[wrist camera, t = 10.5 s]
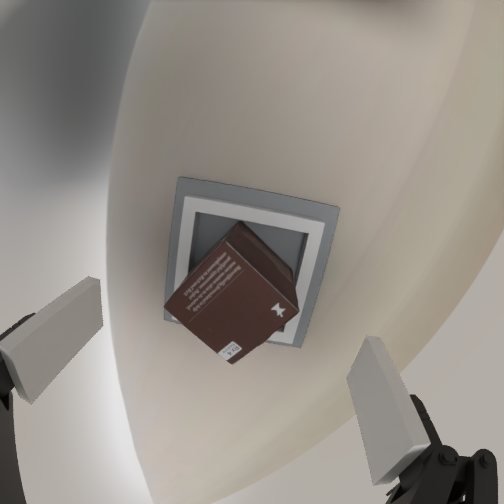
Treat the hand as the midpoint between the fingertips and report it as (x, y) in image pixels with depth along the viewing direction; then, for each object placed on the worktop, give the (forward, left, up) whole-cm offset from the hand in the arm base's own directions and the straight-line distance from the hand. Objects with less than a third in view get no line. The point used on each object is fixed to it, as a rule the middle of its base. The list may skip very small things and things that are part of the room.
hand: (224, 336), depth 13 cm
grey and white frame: (+1, 0, -12) cm, 12 cm away
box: (+1, 0, -11) cm, 11 cm away
